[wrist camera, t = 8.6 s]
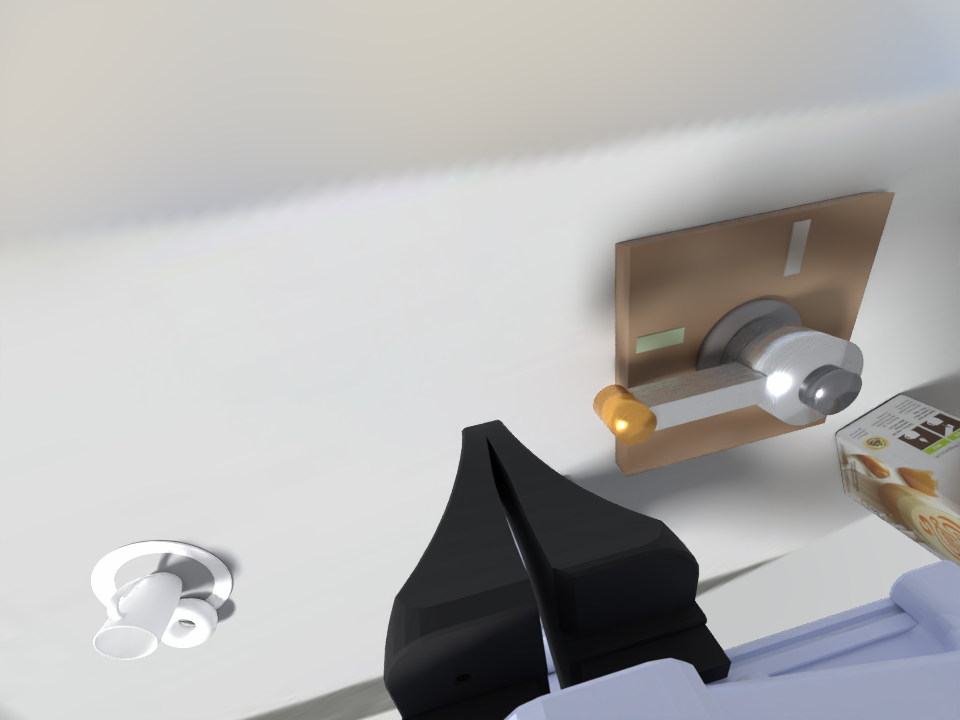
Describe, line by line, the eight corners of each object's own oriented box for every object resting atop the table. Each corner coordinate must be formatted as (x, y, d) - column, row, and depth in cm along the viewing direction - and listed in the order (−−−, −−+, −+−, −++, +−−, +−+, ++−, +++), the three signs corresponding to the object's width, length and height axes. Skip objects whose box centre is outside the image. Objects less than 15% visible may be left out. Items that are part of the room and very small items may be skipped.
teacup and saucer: (232, 621, 28) (206, 686, 24) (104, 623, 26) (53, 695, 22) (237, 537, 25) (207, 597, 21) (91, 531, 22) (29, 597, 19)
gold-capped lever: (801, 309, 22) (899, 337, 17) (785, 381, 24) (868, 422, 19) (585, 361, 20) (632, 406, 16) (588, 433, 23) (631, 489, 18)
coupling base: (805, 412, 29) (832, 427, 27) (615, 462, 27) (631, 482, 25) (864, 192, 22) (907, 192, 20) (615, 243, 20) (636, 248, 19)
